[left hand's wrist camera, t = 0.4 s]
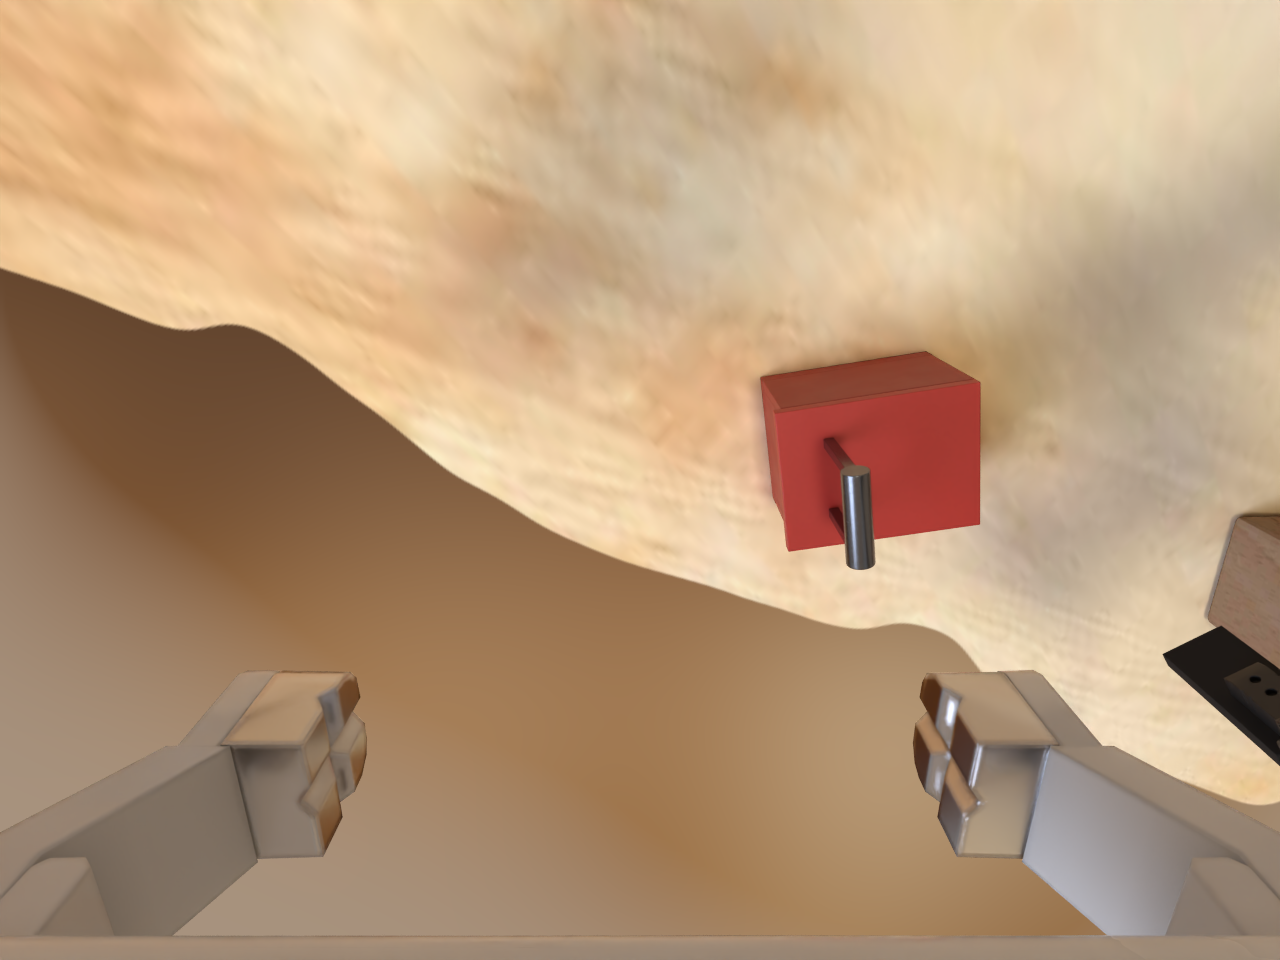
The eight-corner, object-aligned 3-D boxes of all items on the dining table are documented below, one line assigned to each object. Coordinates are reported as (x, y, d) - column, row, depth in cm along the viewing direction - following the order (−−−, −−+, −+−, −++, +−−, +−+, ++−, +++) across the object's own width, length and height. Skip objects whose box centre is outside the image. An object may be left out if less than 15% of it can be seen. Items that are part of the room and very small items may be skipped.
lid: (786, 546, 52) (811, 607, 45) (772, 409, 49) (797, 450, 41) (974, 519, 52) (1033, 576, 44) (975, 378, 48) (1038, 414, 40)
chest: (773, 497, 61) (793, 545, 52) (760, 377, 57) (780, 408, 49) (929, 474, 60) (974, 519, 52) (926, 351, 56) (975, 378, 48)
